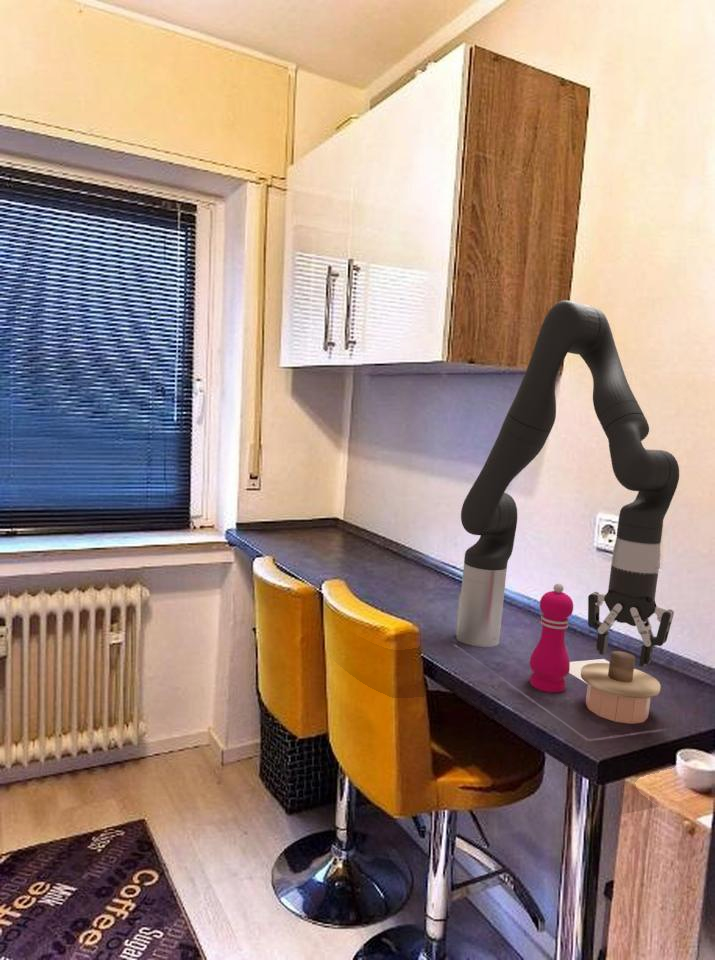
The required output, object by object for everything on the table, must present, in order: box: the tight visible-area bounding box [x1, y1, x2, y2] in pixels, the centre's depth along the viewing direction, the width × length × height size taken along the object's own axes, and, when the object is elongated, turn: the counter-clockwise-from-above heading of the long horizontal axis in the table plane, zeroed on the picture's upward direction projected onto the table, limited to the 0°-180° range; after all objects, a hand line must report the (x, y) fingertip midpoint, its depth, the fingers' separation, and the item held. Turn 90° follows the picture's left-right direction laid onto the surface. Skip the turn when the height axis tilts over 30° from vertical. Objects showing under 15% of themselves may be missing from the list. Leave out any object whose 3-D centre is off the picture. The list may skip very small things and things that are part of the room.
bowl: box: [585, 684, 652, 725], centre depth 120 cm, size 10×10×6 cm
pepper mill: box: [529, 583, 574, 693], centre depth 127 cm, size 7×7×20 cm
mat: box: [568, 658, 610, 685], centre depth 136 cm, size 13×13×1 cm
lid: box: [581, 650, 662, 698], centre depth 119 cm, size 13×13×5 cm
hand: (622, 659), depth 119 cm, fingers open, 6 cm apart
